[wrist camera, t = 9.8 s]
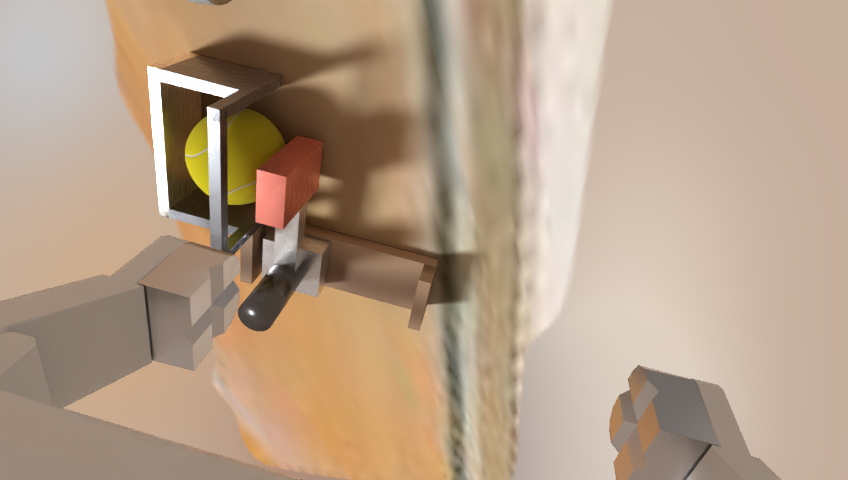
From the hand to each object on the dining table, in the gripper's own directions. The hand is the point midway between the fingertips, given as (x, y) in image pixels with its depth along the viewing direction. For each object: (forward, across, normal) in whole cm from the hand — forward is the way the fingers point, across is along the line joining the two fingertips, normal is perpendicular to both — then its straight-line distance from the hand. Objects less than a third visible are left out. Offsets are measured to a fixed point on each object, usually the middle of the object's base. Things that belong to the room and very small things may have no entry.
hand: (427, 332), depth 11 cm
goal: (+29, +19, +11) cm, 36 cm away
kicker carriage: (+28, +12, +15) cm, 34 cm away
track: (+29, +9, +20) cm, 36 cm away
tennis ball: (+29, +17, +11) cm, 36 cm away
